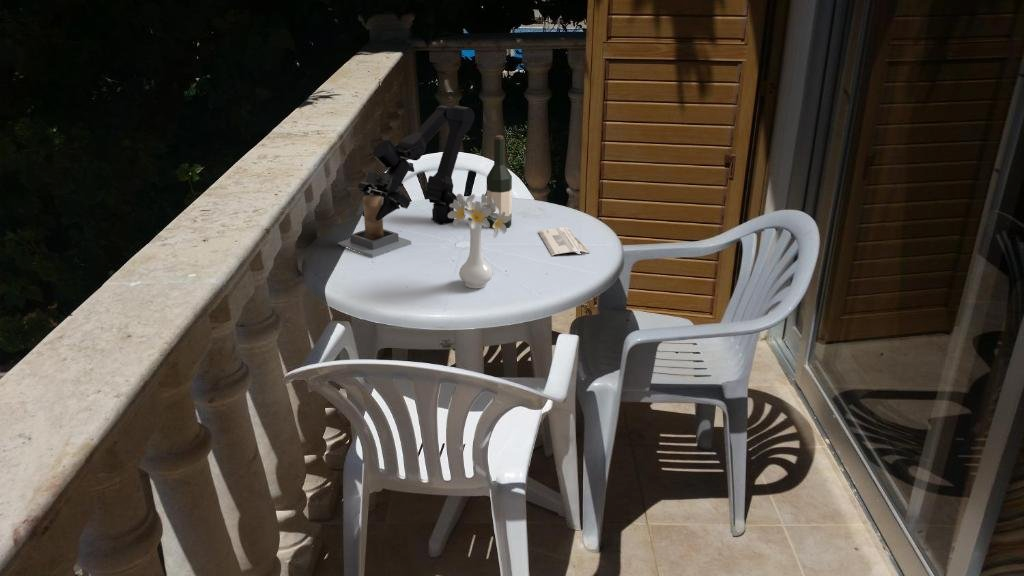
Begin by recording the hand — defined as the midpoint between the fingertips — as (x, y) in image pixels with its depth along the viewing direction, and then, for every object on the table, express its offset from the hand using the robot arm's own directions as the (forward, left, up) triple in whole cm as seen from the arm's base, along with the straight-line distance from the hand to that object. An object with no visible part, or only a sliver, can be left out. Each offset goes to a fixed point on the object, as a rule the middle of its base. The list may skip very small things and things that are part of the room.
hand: (370, 218), depth 249 cm
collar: (-1, 0, -9) cm, 9 cm away
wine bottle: (-44, +6, -9) cm, 45 cm away
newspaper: (-51, +31, -10) cm, 61 cm away
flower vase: (-10, +45, -9) cm, 47 cm away
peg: (-1, 0, -7) cm, 7 cm away
